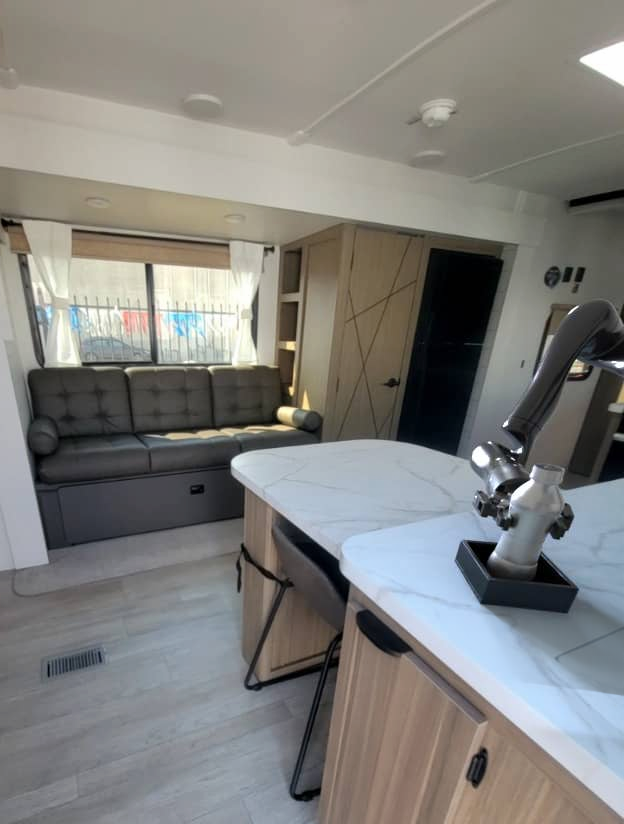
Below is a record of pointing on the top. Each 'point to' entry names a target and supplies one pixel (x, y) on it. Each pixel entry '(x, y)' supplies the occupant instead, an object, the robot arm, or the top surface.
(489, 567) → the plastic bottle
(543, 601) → the dark square tray
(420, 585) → the top surface
